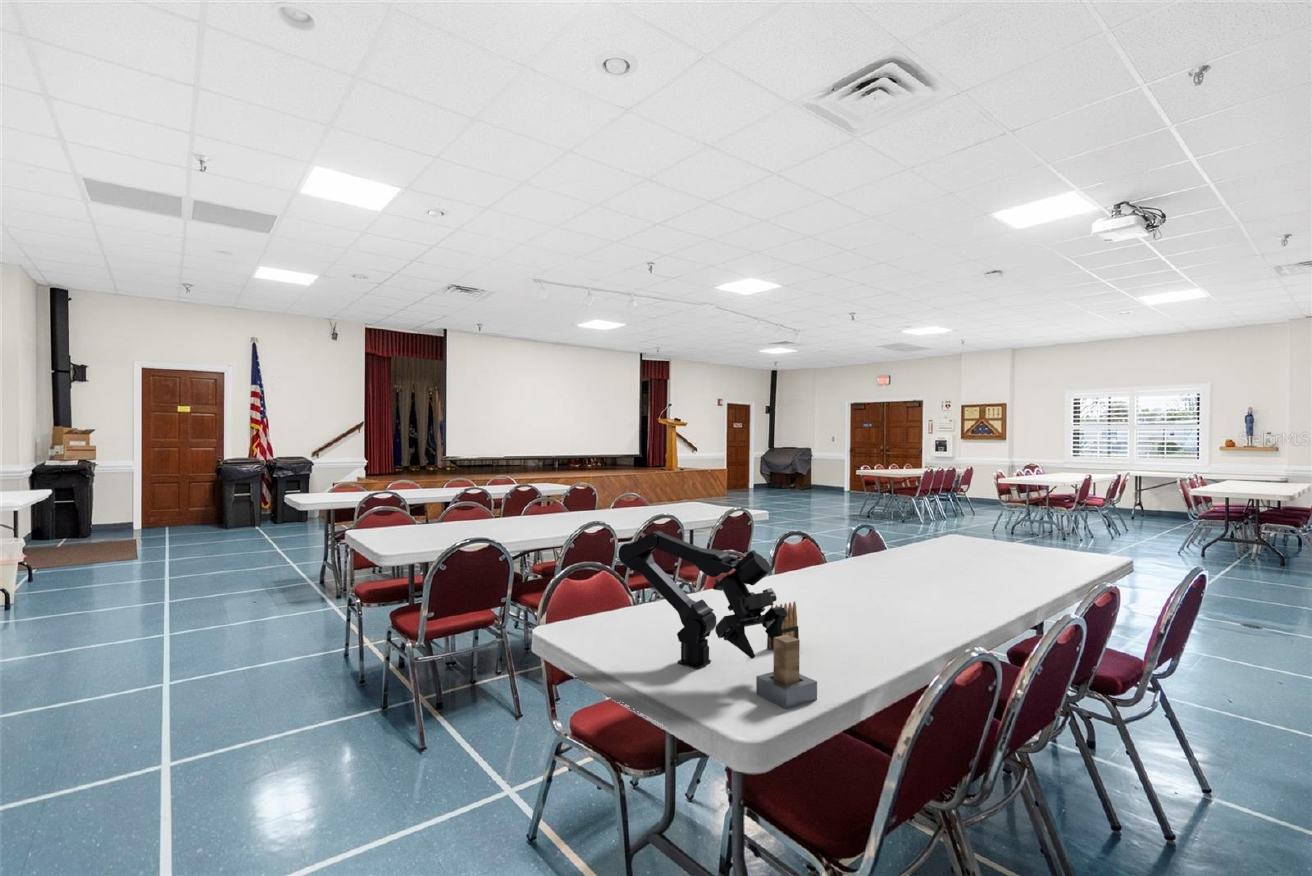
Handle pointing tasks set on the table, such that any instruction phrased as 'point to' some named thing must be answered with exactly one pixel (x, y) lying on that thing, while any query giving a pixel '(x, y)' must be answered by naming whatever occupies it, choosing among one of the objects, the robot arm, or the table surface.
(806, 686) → the square collar
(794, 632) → the ammunition clip
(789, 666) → the walnut peg
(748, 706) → the table surface
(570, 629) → the table surface
